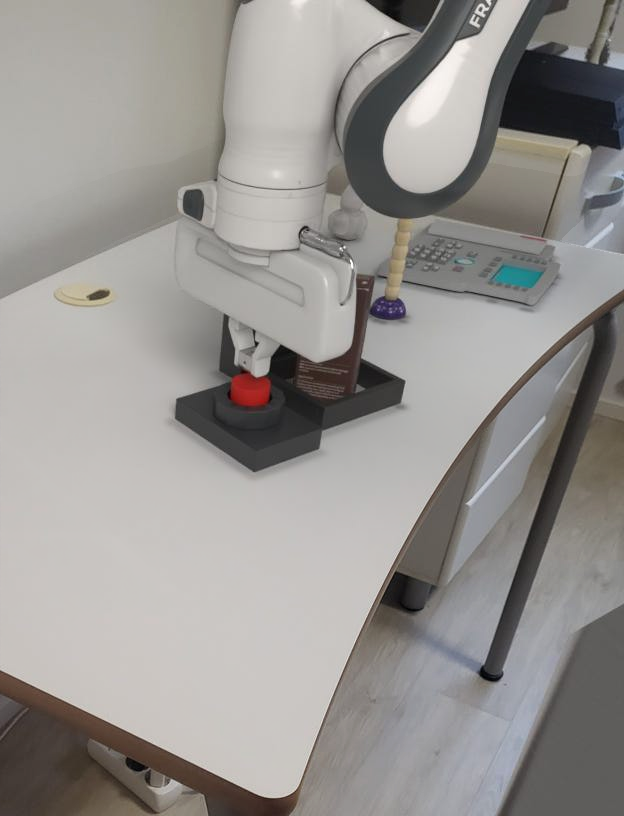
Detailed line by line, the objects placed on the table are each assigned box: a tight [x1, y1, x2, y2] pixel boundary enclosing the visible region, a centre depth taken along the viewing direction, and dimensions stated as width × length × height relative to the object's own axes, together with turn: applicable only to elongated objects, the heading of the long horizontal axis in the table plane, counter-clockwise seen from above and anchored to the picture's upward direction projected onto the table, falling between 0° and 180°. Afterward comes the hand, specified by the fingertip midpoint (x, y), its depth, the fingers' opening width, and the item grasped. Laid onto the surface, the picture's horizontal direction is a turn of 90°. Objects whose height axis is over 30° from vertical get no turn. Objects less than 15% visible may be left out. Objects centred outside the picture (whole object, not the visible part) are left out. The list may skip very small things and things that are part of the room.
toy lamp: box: [369, 218, 414, 320], centre depth 111 cm, size 5×5×17 cm
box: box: [292, 273, 376, 403], centre depth 95 cm, size 6×4×12 cm
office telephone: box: [376, 219, 561, 306], centre depth 129 cm, size 23×3×20 cm
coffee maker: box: [218, 313, 406, 432], centre depth 97 cm, size 16×11×10 cm
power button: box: [230, 373, 271, 406], centre depth 90 cm, size 4×4×2 cm
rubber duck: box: [327, 182, 369, 241], centre depth 134 cm, size 5×7×8 cm
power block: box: [174, 380, 323, 473], centre depth 91 cm, size 12×8×4 cm, turn 35°
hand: (251, 370), depth 88 cm, fingers closed
